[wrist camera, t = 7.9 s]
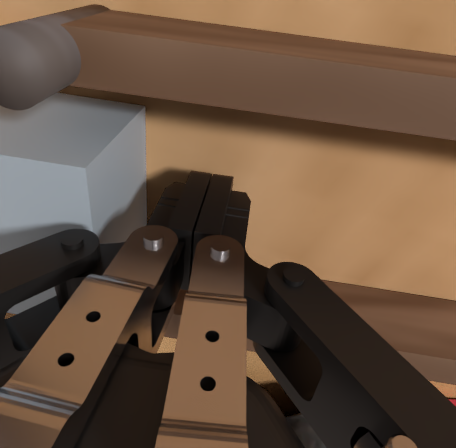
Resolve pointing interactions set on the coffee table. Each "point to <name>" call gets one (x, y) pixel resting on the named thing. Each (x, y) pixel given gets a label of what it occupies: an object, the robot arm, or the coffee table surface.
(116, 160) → the block
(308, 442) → the lucky cat figurine
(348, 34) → the coffee table surface
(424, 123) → the chute
